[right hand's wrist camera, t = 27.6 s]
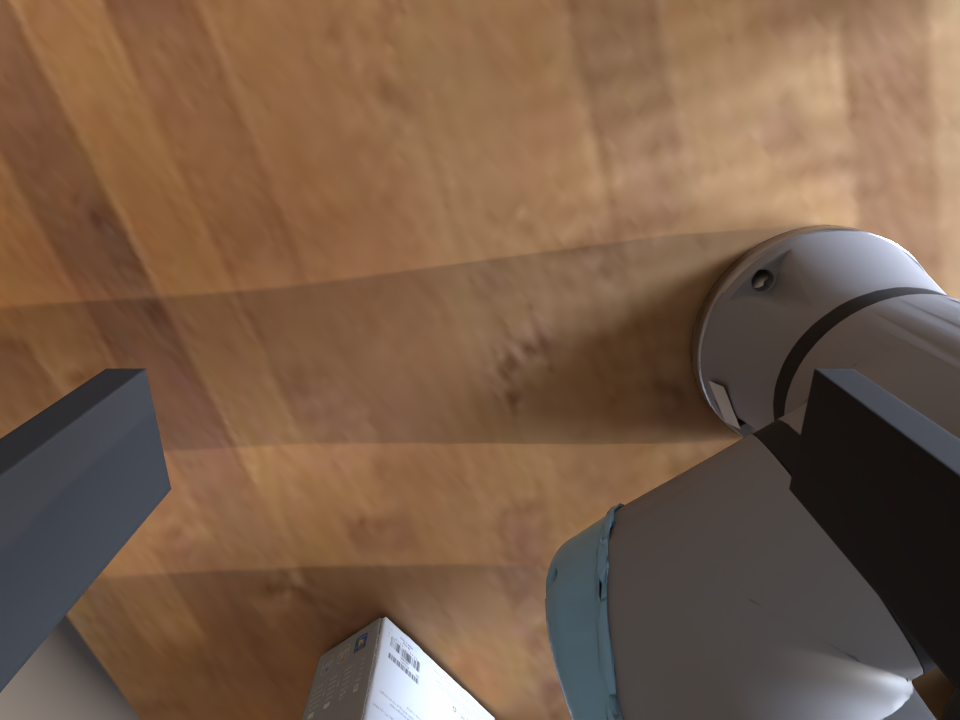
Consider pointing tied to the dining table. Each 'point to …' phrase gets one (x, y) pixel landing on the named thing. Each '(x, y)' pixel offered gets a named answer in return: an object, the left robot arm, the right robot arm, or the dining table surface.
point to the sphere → (952, 707)
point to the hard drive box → (385, 682)
